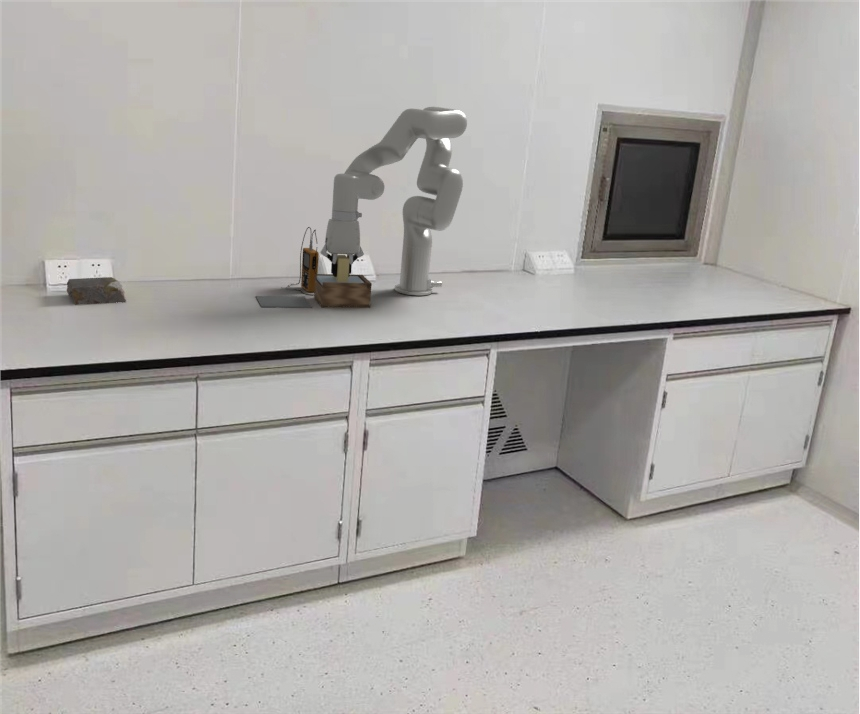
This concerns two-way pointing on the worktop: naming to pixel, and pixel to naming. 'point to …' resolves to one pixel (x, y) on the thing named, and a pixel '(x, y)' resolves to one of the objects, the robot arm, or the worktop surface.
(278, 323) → the worktop surface
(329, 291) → the case
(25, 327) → the worktop surface
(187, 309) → the worktop surface
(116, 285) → the geological specimen
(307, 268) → the multimeter
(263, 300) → the mat
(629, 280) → the worktop surface
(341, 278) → the cover plate
